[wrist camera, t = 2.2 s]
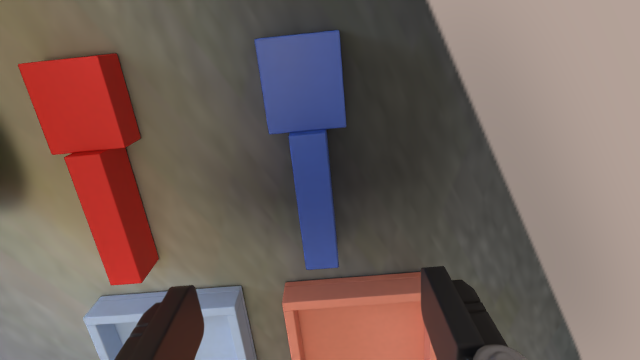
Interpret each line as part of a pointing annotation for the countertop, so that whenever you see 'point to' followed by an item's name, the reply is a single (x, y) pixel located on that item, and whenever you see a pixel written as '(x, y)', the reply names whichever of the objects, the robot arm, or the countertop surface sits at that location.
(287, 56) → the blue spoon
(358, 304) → the red tray
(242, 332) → the blue tray
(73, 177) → the red paddle block
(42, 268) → the countertop surface
